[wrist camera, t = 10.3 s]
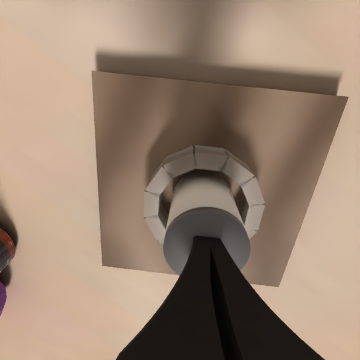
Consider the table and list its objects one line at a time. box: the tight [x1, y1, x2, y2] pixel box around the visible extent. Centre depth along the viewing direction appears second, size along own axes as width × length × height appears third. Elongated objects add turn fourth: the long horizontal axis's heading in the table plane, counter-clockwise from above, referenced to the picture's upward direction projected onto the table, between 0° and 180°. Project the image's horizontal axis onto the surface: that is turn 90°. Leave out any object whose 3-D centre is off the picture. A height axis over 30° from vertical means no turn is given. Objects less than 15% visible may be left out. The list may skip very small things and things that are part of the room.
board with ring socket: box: [92, 71, 348, 287], centre depth 16 cm, size 16×16×3 cm
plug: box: [163, 170, 251, 275], centre depth 14 cm, size 4×4×6 cm
